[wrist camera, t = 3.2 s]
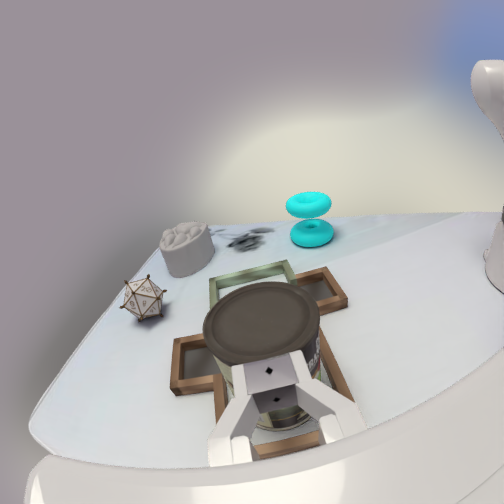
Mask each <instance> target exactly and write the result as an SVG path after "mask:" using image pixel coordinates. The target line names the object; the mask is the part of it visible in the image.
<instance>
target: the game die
mask: <svg viewBox="0 0 504 504" xmlns="http://www.w3.org/2000/svg"><path fill="white" fill-rule="evenodd" d="M149 278H150V275H149V274H148V275H147V278H146V279H142V280H138V281H134V282H131V283H128V282H127V281H125V283H126V284H127V288H126V293H125V299H124V305H123V306H120V308H121V309H122V308H126V309H127V310H128V311H130V312H131V313H132V314H134V315H135V316H136V317H138V318H139V319H138V322H140V320H143V318H147V317H151V316H156V315H160V316H161V317H163V315H162V314H161V313H160V312H161V305H162V298H163V292H164V293H165V292H166V291H167V290H163V291H162V290H161V289H160V288H159V287H158V286H156V285H155V284H154V283H153V282H152V281H151V280H150V279H149Z"/></svg>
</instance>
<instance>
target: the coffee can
mask: <svg viewBox="0 0 504 504" xmlns="http://www.w3.org/2000/svg"><path fill="white" fill-rule="evenodd" d="M319 324H320V312H319V307H318V304H317V302H316V301H315V299H314V298H313V296H312V295H310V294H309V293H308V292H307V291H306V290H304V289H302V288H300V287H298V286H296V285H293V284H289V283H284V282H260V283H255V284H250V285H247V286H244V287H241V288H239V289H236V290H234V291H232V292H230V293H229V294H227V295H225V296H224V297H223V298H221V299H220V300H219V301H218V302H216V303H215V304H214V305H213V307H212V308H211V309H210V311H209V312H208V313H207V315H206V317H205V320H204V323H203V337H204V340H205V343H206V345H207V347H208V348H209V350H210V351H211V352H212V354H213V356H214V358H215V360H216V362H217V364H218V366H219V368H220V370H221V372H222V374H223V376H224V378H225V380H226V382H227V384H228V386H229V388H230V390H231V392H232V393H233V395H234V387H233V379H232V371H231V368H232V366H235V365H240V364H245V363H250V362H255V361H260V360H265V359H267V358H271V357H275V356H278V355H282V354H286V353H291V352H294V351H298V350H301V351H302V353H303V356H304V358H305V361H306V364H307V366H308V369H309V372H310V374H311V377H312V379H315V378H316V379H317V380H319V381H321V373H320V340H319ZM234 397H235V395H234ZM310 417H311V416H310V415H309V414H308V413H307V412H305V411H304V410H303V409H302V408H301V407H299V406H298V405H295V406H291V407H287V408H282V409H278V410H274V411H270V412H266V413H262V414H260V417H259V419H258V422H257V424H256V426H257V427H259V428H262V429H266V430H271V431H283V430H288V429H292V428H295V427H297V426H299V425H301V424H303V423H304V422H306V421H307V420H308V419H309V418H310Z"/></svg>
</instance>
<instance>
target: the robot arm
mask: <svg viewBox="0 0 504 504" xmlns="http://www.w3.org/2000/svg"><path fill="white" fill-rule="evenodd" d="M471 88H472V92H473V96H474V98H475V101H476V102H477V104H478V106H479V108H480V109H481V110H482V112H483V113H484V114H485V115H486V116H487V117H488V118H489V119H490V120H491V121H492V123H493V124H494V125H495V126H496V128H497V129H498V131H499V133H500V135H501V137H502V139H503V141H504V61H502V60H480V61H478V62H477V63H476V65H475V66H474V68H473V70H472V74H471ZM483 256H484V259H485V261H486V265H485V271H486V274H487V276H488V278H489V280H490V281H491V282H492V283H493V284H494V286H496V287H497V288H498V289H499V290H500V291H502V292H503V293H504V206H503V210H502V221H500V222H499V223H497V224H496V227H495V231H494V234H493V238H492V241H491V244H490V248H489V249H487V250H485V251H484V254H483ZM231 371H232V379H233V387H234V395H235V398H231V400H230V402H229V404H228V405H227V407H226V409H225V411H224V412H223V414H222V416H221V417H220V419H219V421H218V422H217V424H216V426H215V428H214V429H213V431H212V433H211V434H210V436H209V437H208V439H207V445H208V459H209V467H202V468H180V469H157V468H135V467H122V466H113V465H105V464H98V463H91V462H85V461H80V460H75V459H70V458H65V457H61V456H57V455H53V454H49V455H47V456H45V457H44V458H43V459H42V460H41V461H40V462H39V463H38V464H37V465H36V466H35V467H34V468H33V469H32V470H31V472H30V475H29V477H28V481H27V485H26V490H25V496H24V504H504V347H503V348H501V349H500V350H499V351H498V352H497V353H496V354H494V355H493V356H492V357H491V358H489V359H488V360H487V361H486V362H484V363H483V364H482V365H480V366H479V367H478V368H476V369H475V370H474V371H472V372H471V373H469V374H468V375H467V376H465V377H464V378H462V379H461V380H459V381H458V382H456V383H455V384H453V385H452V386H450V387H449V388H447V389H445V390H444V391H442V392H440V393H439V394H437V395H435V396H434V397H432V398H430V399H429V400H427V401H425V402H423V403H421V404H420V405H418V406H416V407H414V408H412V409H410V410H408V411H406V412H404V413H402V414H400V415H398V416H396V417H394V418H392V419H390V420H388V421H385V422H383V423H381V424H379V425H376V426H374V427H372V428H369V429H368V428H367V426H366V423H365V421H364V419H363V417H362V414H361V412H360V410H359V408H358V405H357V404H356V403H354V402H352V401H351V400H349V399H348V398H346V397H344V396H343V395H341V394H339V393H338V392H336V391H335V390H333V389H331V388H330V387H328V386H327V385H325V384H324V383H322V382H321V381H319V380H317V379H316V378H315V379H312V377H311V374H310V372H309V369H308V366H307V364H306V361H305V358H304V356H303V353H302V351H301V350H298V351H294V352H291V353H286V354H282V355H278V356H275V357H271V358H267V359H265V360H260V361H255V362H250V363H245V364H240V365H235V366H232V368H231ZM295 405H298V406H299V407H301V408H302V409H303V410H304V411H305V412H307V413H308V414H309V415H310V416H312V417H313V418H314V419H315V420H317V421H318V422H319V435H318V441H319V444H320V446H318V447H315V448H311V449H308V450H304V451H300V452H296V453H292V454H288V455H284V456H279V457H275V458H270V459H265V460H260V457H259V454H258V452H257V451H256V449H255V448H254V446H253V444H252V443H251V441H250V438H251V436H252V433H253V431H254V429H255V426H256V424H257V422H258V419H259V417H260V414H262V413H266V412H270V411H274V410H278V409H282V408H287V407H291V406H295Z"/></svg>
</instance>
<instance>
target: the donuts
mask: <svg viewBox="0 0 504 504" xmlns="http://www.w3.org/2000/svg"><path fill="white" fill-rule="evenodd" d="M330 207H331V199H330V198H329V197H328V196H327V195H325V194H324V193H320V192H304V193H300V194H296V195H294V196H293V197H291V198H289V199H288V201H287V203H286V209H287V211H288V212H289V213H290V214H291V215H292V216H294V217H298V218H304V219H307V220H303V221H301V222H299V223H297V224H296V225H294V226H293V228H292V229H291V232H290V236H291V239H292V241H293V242H294V243H296V244H297V245H300V246H303V247H316V246H320V245H323V244H325V243H327V242H328V241H330V240H331V238H332V237H333V233H334V231H333V228H332V226H331V225H330V224H329V223H328V222H326V221H324V220H321V219H308V218H315V217H319V216H321V215H323V214H325V213H326V212H327V211H328V210H329V209H330Z"/></svg>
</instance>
